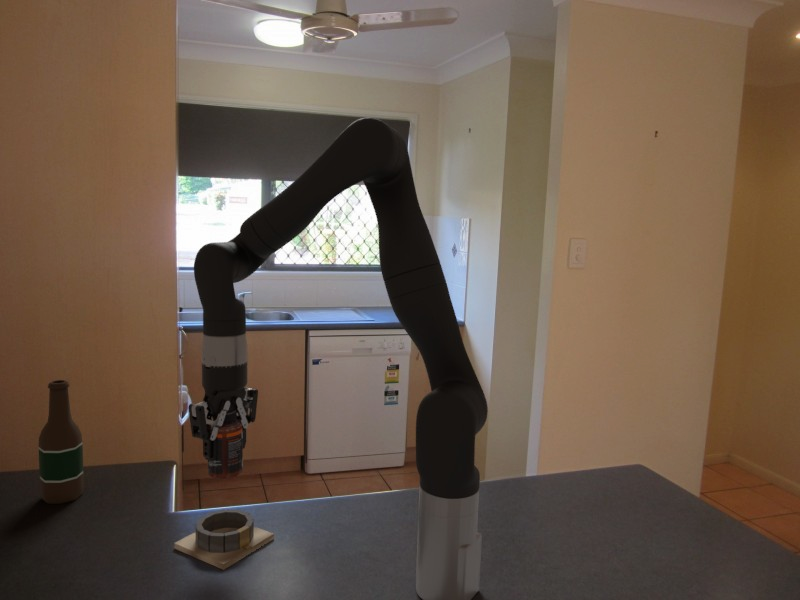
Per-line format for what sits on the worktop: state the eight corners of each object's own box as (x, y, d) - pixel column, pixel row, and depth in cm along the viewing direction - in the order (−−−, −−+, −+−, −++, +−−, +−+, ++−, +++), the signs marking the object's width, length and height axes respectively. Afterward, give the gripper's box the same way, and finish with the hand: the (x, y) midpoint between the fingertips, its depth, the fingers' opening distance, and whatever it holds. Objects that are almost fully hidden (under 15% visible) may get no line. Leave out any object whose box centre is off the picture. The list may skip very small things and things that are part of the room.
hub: (273, 538, 111) (273, 517, 110) (223, 569, 100) (223, 546, 100) (226, 521, 117) (226, 501, 116) (174, 548, 106) (173, 526, 106)
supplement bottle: (248, 468, 109) (248, 407, 108) (233, 482, 103) (232, 417, 102) (218, 465, 110) (217, 404, 109) (200, 478, 105) (200, 414, 103)
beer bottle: (42, 491, 127) (38, 378, 124) (84, 485, 130) (81, 375, 127) (38, 507, 120) (33, 388, 117) (83, 501, 123) (79, 384, 120)
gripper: (239, 349, 112) (239, 438, 114) (175, 363, 100) (176, 462, 102) (270, 355, 109) (270, 446, 111) (207, 370, 96) (208, 472, 98)
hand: (225, 453), depth 106 cm, fingers closed on supplement bottle, 6 cm apart
